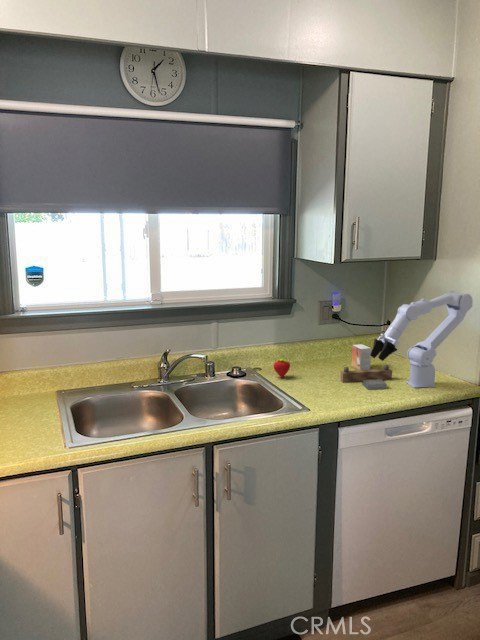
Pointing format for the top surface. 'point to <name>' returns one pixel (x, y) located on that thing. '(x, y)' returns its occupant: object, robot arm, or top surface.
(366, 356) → the small box
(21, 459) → the top surface
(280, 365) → the strawberry
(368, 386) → the steel plate
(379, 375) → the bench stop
